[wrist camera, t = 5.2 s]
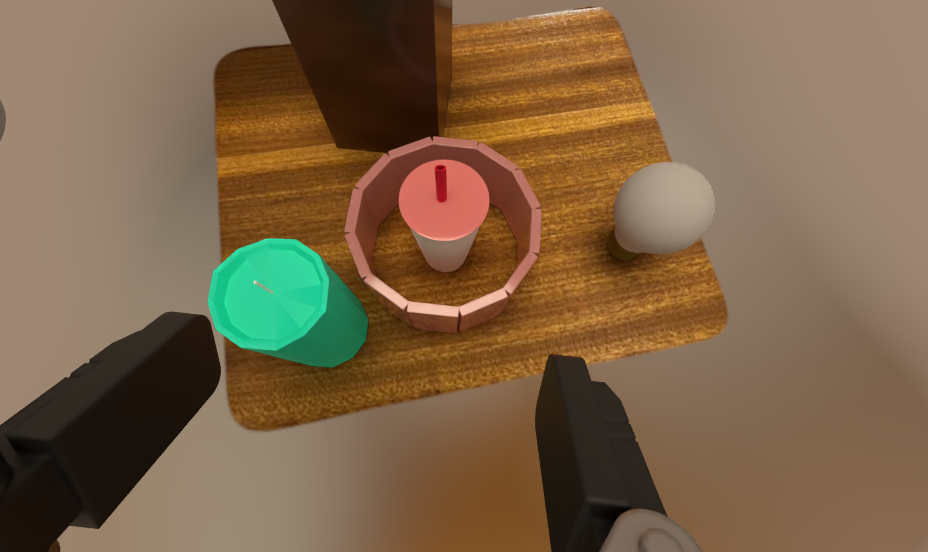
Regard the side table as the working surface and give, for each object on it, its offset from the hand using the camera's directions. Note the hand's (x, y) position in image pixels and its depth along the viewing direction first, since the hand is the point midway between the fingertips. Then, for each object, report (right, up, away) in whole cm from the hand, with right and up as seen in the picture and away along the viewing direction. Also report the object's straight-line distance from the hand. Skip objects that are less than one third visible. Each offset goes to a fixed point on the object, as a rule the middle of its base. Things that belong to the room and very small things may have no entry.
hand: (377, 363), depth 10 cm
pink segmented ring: (+1, +4, +23) cm, 23 cm away
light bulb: (+15, +4, +24) cm, 28 cm away
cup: (+1, +4, +23) cm, 23 cm away
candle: (-8, -2, +21) cm, 22 cm away
